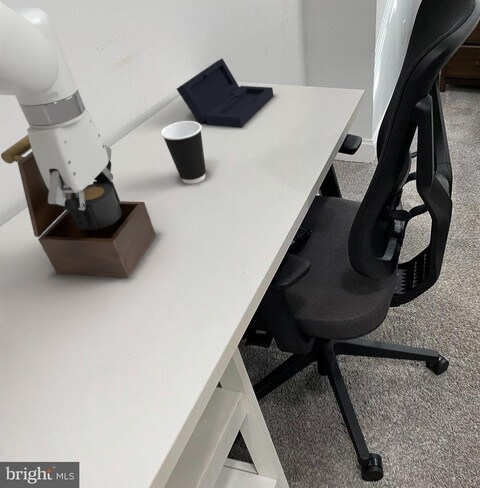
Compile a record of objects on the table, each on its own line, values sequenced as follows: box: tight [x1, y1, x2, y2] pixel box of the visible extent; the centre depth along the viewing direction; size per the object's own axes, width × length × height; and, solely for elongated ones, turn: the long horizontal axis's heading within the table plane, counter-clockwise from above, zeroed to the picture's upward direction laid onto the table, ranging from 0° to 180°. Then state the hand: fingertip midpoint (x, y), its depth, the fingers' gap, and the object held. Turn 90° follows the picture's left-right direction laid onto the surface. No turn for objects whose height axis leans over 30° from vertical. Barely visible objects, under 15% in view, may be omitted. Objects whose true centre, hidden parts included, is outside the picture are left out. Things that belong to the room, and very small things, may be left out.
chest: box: [38, 200, 157, 279], centre depth 80 cm, size 13×11×7 cm
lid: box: [0, 134, 72, 238], centre depth 74 cm, size 13×11×5 cm
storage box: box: [176, 57, 274, 128], centre depth 127 cm, size 21×16×10 cm
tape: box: [71, 183, 122, 229], centre depth 76 cm, size 6×6×5 cm
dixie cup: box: [160, 120, 207, 185], centre depth 98 cm, size 8×8×11 cm
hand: (99, 214), depth 77 cm, fingers closed on tape, 6 cm apart
